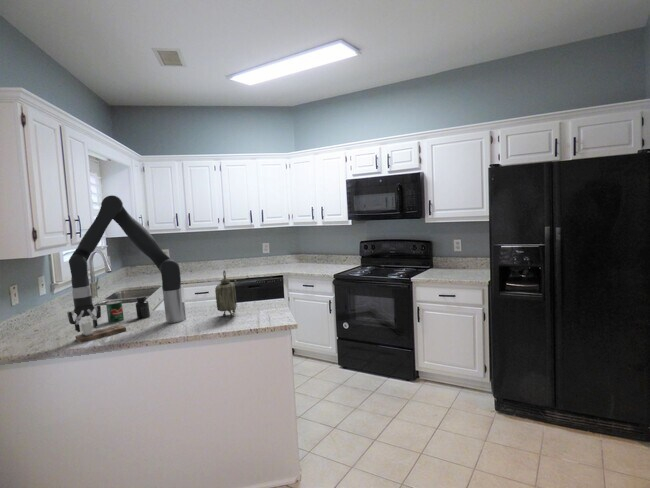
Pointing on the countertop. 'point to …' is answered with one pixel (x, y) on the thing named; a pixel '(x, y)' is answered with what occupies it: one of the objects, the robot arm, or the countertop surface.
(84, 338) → the board
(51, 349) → the countertop surface
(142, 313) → the supplement bottle
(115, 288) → the countertop surface
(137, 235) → the robot arm
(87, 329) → the fader
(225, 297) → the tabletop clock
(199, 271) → the countertop surface
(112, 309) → the canned tomato
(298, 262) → the countertop surface
